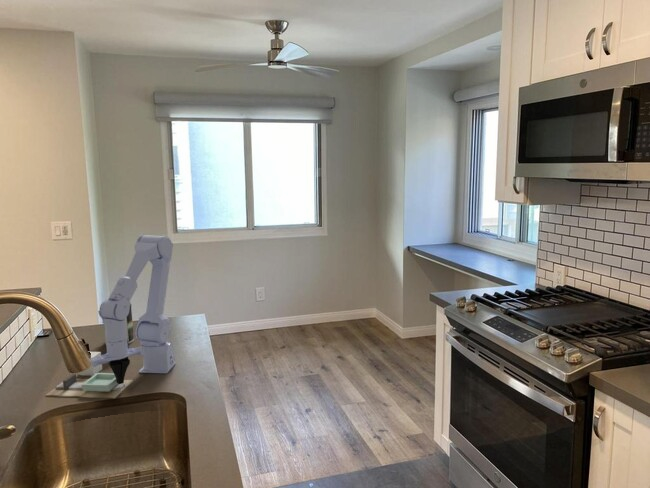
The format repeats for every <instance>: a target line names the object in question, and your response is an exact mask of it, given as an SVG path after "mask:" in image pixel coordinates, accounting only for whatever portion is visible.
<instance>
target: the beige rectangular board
mask: <svg viewBox="0 0 650 488" xmlns="http://www.w3.org/2000/svg"><path fill="white" fill-rule="evenodd" d="M88 379H89V378H77V375H76V373H72V374H70V375H69V376H68V377H66V378H65V379H63V380H62V381H61V382H60V383H59V384H58V385H56V386H55V388H53V389H51V391H49V392H48V393H46V395H45V396H46V397H59V398H60V397H61V398H62V397H65V398H66V397H67V398H90V399H91V398H92V399H93V398H97V399H116V398H117V397H118V396H119V395H120V394H121V393H122V392H124V390H125V389H127V388H128V387H129V385H131V384H132V383H133V382H134V381H133V379H124V383H122V384H117V385H116V386H115V387H113V388H112V389H111V390H110V391H109V392H107V391H82V384H83V383H85V382H86V381H87V380H88Z"/></svg>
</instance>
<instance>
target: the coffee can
mask: <svg viewBox="0 0 650 488" xmlns="http://www.w3.org/2000/svg"><path fill="white" fill-rule="evenodd" d="M125 320H126V323H127V335H128V345H130V344H131V343H133V342H134V341H135V337H134V336H135V335H134V327H133V326H134V325H133V312H132V303H130V310H129V314H128V315H127V317H126V318H125ZM103 328H104V329H103V330H104V340H105V344H104V345H106V334H105V325H104V324H103Z"/></svg>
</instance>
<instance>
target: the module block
mask: <svg viewBox="0 0 650 488" xmlns="http://www.w3.org/2000/svg"><path fill="white" fill-rule="evenodd" d="M89 352H90V353H91V359H93V358H96V357H99V356H101V355H102V352H101V351H89ZM102 370H103V364H101V365H97V366H96V367H93V366H92V365H91V366H90V368H89V369H87V370H85V371H84V372H82V373H79V372H78V375H79V376H91V377H92V376H93V375H95V374H96V373H100V371H102Z"/></svg>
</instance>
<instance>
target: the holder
mask: <svg viewBox="0 0 650 488" xmlns="http://www.w3.org/2000/svg"><path fill="white" fill-rule="evenodd" d="M87 379H88V380H87V381H86V382H85V383H83V384H82V391H107V392H109V391H110V390H111V389H112V388H113V387H115V386H116V385H117V384H118V383H117V381H116V377H115V375H114V373H113V372H112V373H111V372H98V373H96V374H95V375H93V376H92V375H91V377H90V378H87Z"/></svg>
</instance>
